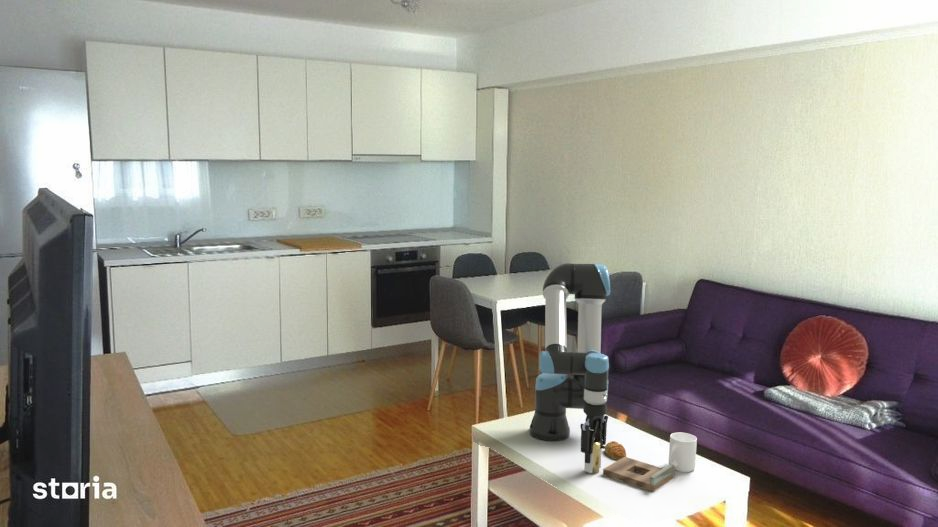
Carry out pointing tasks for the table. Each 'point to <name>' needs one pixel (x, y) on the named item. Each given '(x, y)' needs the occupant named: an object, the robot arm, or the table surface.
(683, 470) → the mug
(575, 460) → the table surface
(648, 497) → the table surface
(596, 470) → the brass cylinder rod
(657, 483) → the jig
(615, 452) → the pastry
